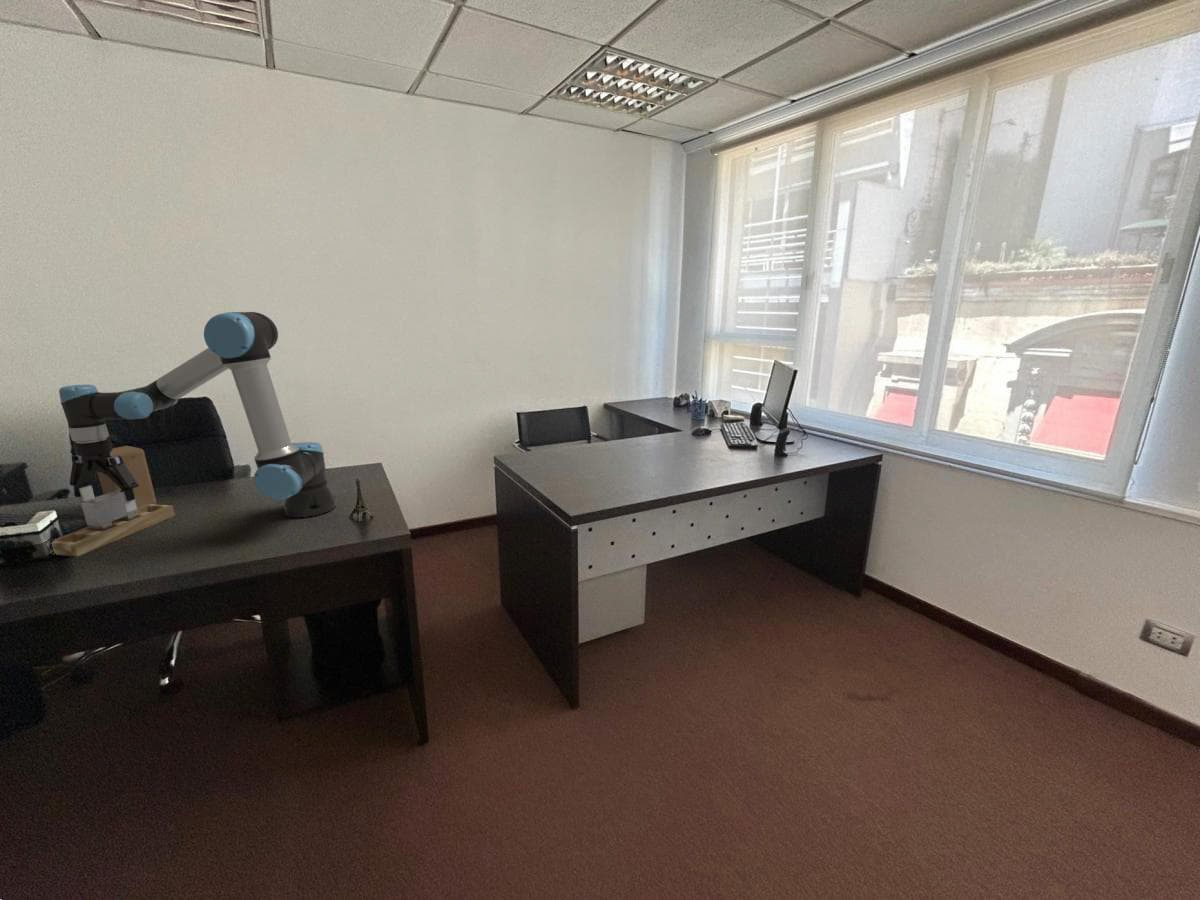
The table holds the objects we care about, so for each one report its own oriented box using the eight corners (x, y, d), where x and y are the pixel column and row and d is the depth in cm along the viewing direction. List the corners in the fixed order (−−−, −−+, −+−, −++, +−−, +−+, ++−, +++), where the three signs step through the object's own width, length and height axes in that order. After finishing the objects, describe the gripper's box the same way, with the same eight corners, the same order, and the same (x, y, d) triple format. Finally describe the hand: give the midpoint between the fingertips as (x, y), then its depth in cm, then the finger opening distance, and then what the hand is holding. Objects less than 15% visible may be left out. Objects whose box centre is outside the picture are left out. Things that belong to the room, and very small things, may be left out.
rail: (175, 515, 163) (172, 505, 162) (77, 556, 136) (74, 544, 135) (150, 513, 164) (148, 503, 163) (49, 554, 137) (46, 542, 136)
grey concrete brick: (142, 526, 155) (132, 489, 152) (103, 541, 145) (92, 503, 141) (131, 525, 156) (121, 488, 152) (92, 540, 145) (80, 502, 142)
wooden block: (158, 504, 172) (144, 448, 166) (122, 514, 163) (106, 456, 157) (142, 499, 176) (128, 444, 170) (106, 509, 167) (90, 452, 161)
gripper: (143, 438, 144) (160, 507, 150) (69, 434, 147) (88, 501, 153) (115, 445, 137) (134, 517, 143) (38, 441, 140) (60, 511, 146)
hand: (111, 509), depth 148 cm, fingers open, 13 cm apart
